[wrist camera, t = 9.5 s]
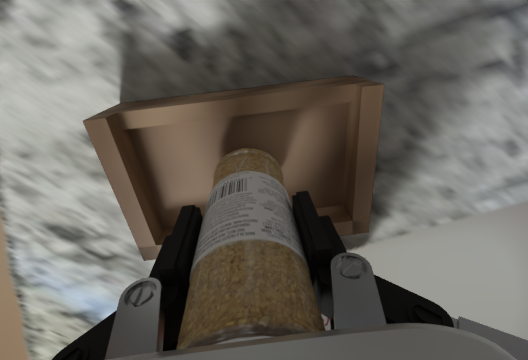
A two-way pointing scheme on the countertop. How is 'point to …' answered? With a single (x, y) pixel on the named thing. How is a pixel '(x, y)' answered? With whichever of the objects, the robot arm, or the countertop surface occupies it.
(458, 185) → the countertop surface
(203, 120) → the shallow wooden tray
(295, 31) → the countertop surface
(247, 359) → the robot arm
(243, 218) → the seasoning bottle
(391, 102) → the countertop surface
